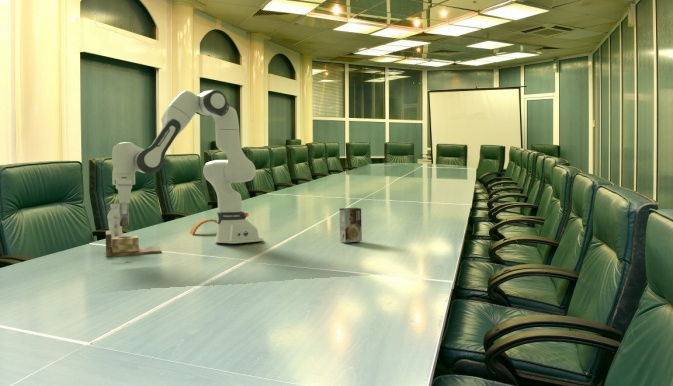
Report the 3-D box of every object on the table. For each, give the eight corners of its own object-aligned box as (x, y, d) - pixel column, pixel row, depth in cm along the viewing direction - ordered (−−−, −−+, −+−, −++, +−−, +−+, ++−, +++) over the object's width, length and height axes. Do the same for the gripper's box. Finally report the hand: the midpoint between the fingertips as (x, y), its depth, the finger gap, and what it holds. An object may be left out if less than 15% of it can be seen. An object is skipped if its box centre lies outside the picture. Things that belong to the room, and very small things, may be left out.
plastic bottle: (118, 249, 218) (117, 204, 217) (104, 249, 219) (103, 204, 219) (127, 247, 224) (126, 203, 224) (113, 247, 226) (112, 203, 225)
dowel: (128, 225, 209) (128, 197, 209) (129, 225, 206) (128, 197, 205) (119, 225, 207) (119, 197, 207) (119, 226, 204) (119, 197, 204)
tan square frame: (137, 248, 214) (137, 235, 213) (138, 251, 204) (138, 237, 204) (112, 249, 209) (112, 236, 209) (112, 252, 200) (112, 239, 200)
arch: (188, 238, 256) (188, 219, 256) (226, 236, 266) (225, 217, 266) (191, 240, 251) (191, 220, 251) (229, 237, 261) (229, 218, 261)
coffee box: (355, 240, 243) (355, 207, 243) (362, 241, 237) (361, 208, 237) (339, 241, 239) (339, 208, 239) (345, 242, 233) (344, 208, 233)
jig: (158, 248, 220) (158, 228, 220) (161, 253, 205) (161, 231, 205) (106, 251, 211) (106, 230, 211) (106, 256, 197) (105, 234, 196)
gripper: (115, 180, 214) (116, 212, 214) (115, 180, 196) (116, 215, 196) (131, 180, 217) (131, 212, 217) (132, 180, 198) (133, 214, 198)
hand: (124, 213), depth 206 cm, fingers closed on dowel, 4 cm apart
